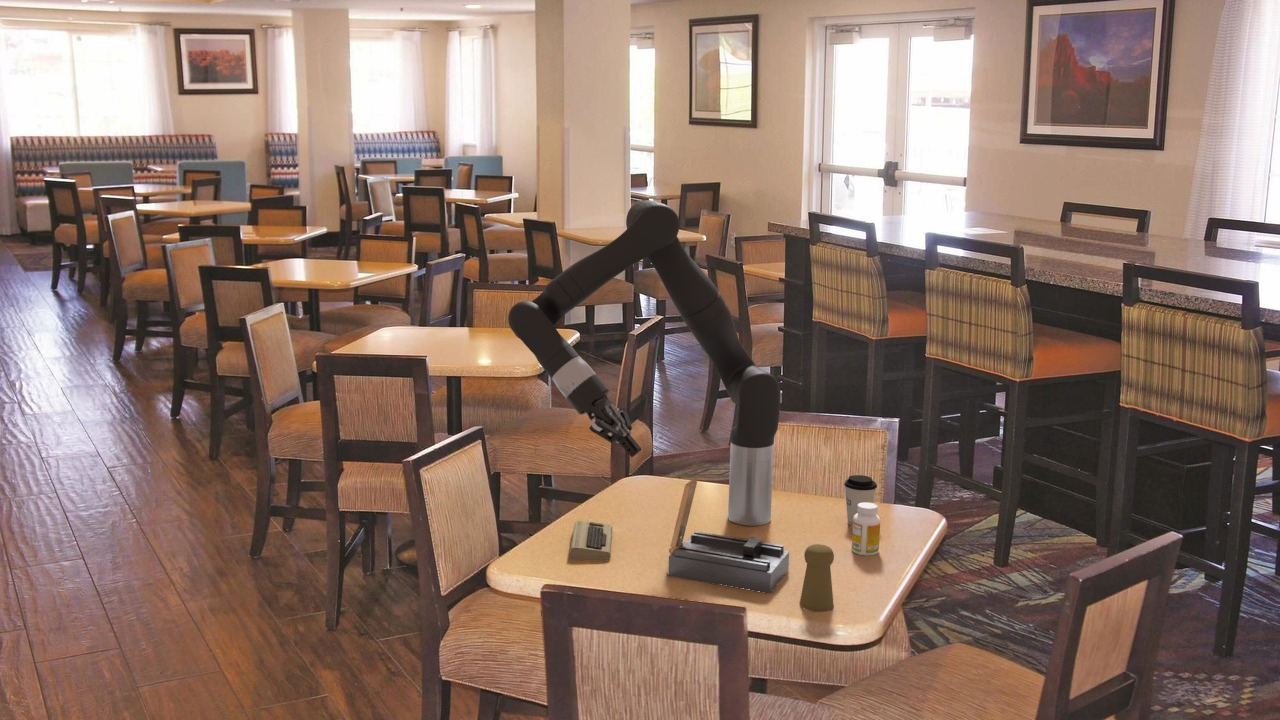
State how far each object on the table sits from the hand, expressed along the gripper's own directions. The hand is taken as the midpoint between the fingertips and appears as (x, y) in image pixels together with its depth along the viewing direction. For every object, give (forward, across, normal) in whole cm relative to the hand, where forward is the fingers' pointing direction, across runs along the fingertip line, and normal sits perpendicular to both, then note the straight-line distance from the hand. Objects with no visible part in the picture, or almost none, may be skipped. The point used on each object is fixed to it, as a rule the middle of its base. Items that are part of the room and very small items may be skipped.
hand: (636, 453), depth 226 cm
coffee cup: (+40, +39, -10) cm, 57 cm away
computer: (+8, +2, +23) cm, 24 cm away
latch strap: (+16, 0, +1) cm, 16 cm away
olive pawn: (+42, -7, -12) cm, 45 cm away
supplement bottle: (+44, +23, -13) cm, 51 cm away
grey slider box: (+29, 0, +1) cm, 29 cm away
